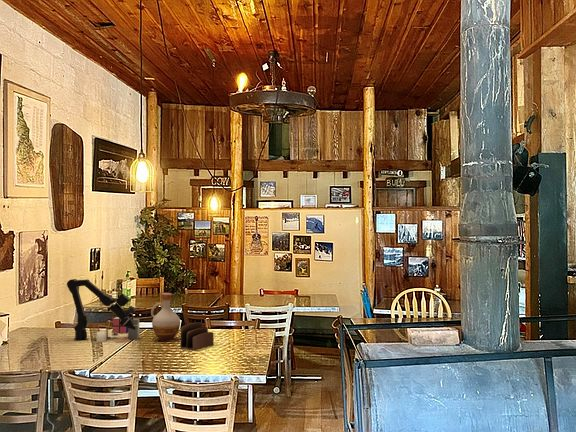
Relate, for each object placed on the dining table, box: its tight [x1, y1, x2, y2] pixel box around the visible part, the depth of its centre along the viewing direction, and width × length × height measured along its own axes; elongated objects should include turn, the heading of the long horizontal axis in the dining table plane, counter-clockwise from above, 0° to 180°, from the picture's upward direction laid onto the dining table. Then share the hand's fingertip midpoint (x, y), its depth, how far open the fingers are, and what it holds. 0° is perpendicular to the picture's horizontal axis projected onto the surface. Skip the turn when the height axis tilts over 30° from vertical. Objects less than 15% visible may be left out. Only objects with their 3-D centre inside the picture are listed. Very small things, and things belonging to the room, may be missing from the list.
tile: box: [113, 337, 131, 344], centre depth 359 cm, size 8×8×1 cm
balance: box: [95, 324, 119, 340], centre depth 367 cm, size 15×5×10 cm, turn 122°
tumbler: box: [127, 318, 140, 340], centre depth 367 cm, size 6×6×12 cm
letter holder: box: [179, 321, 215, 351], centre depth 343 cm, size 10×20×14 cm, turn 150°
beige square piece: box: [96, 330, 107, 343], centre depth 358 cm, size 6×6×6 cm
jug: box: [150, 292, 181, 342], centre depth 364 cm, size 20×18×30 cm
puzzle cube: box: [111, 316, 128, 334], centre depth 391 cm, size 10×10×10 cm
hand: (135, 328), depth 368 cm, fingers closed on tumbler, 6 cm apart
